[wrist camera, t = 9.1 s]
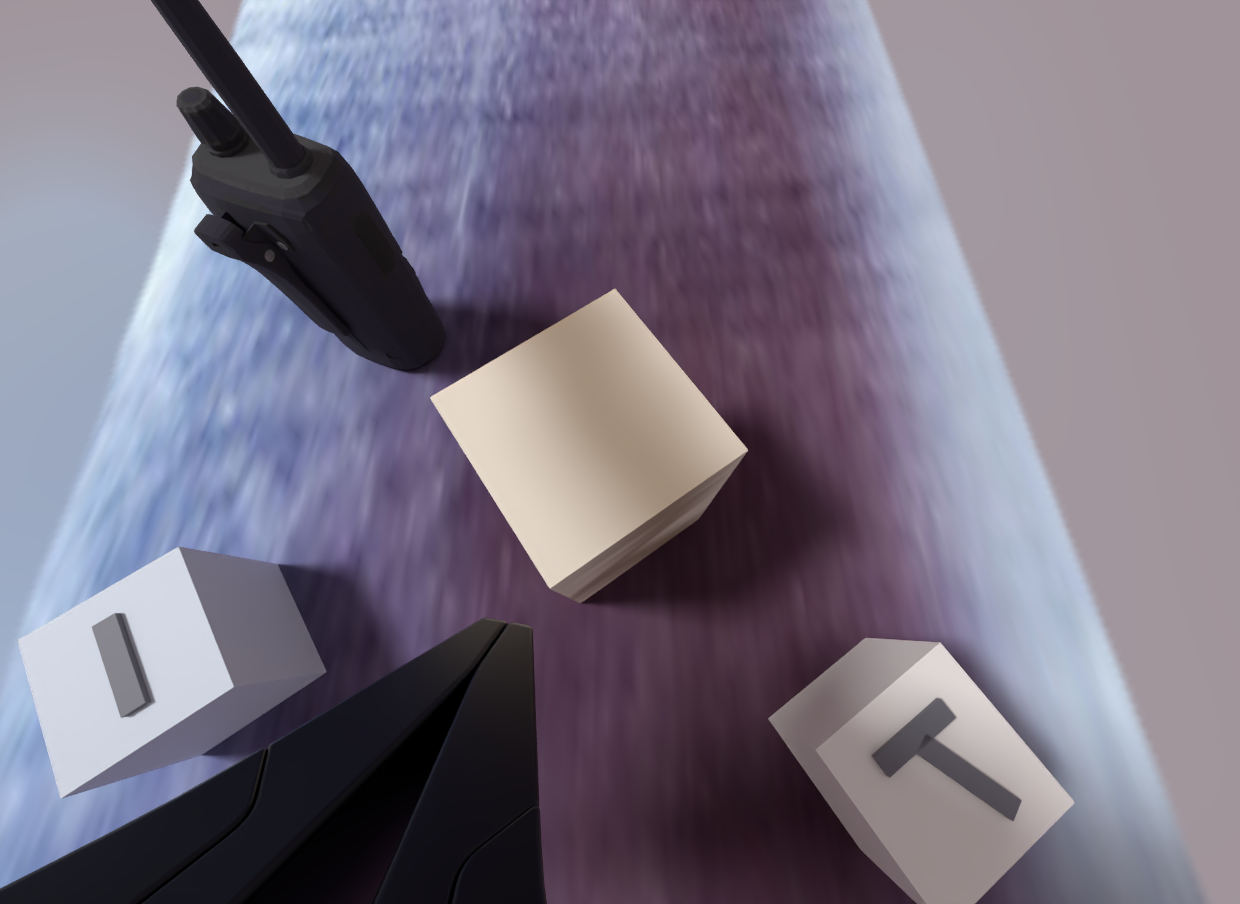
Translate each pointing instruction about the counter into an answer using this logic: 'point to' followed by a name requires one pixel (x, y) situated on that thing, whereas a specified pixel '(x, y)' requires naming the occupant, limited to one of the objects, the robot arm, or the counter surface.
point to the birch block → (591, 444)
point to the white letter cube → (165, 665)
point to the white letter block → (921, 768)
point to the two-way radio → (296, 209)
